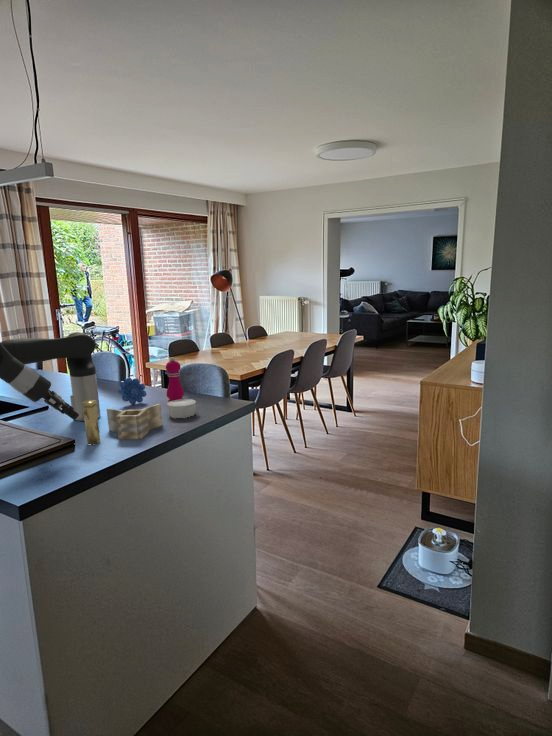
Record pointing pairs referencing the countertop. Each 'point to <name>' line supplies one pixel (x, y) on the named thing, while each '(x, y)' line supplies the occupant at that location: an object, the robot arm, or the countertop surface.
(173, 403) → the ramekin
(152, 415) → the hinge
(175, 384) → the pepper mill
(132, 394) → the grapes
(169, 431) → the countertop surface
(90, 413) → the brass peg
